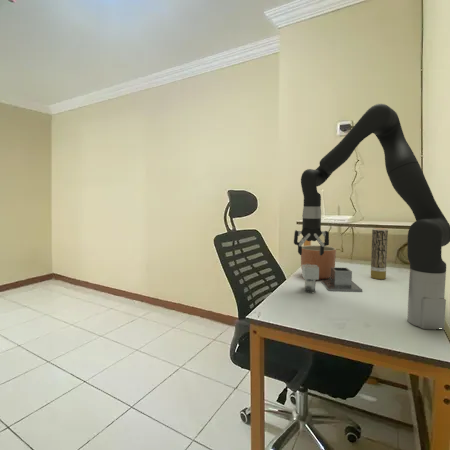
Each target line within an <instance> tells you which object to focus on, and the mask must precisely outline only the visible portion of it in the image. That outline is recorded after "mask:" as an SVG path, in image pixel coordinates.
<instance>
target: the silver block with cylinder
mask: <svg viewBox="0 0 450 450" xmlns="http://www.w3.org/2000/svg"><path fill="white" fill-rule="evenodd" d="M301 276H302V278H303V279H304V292H306V293H309V294H313V293H312V292H314V293H316V285H317V284H316V281H317V280H319V281H320V279H319V267H318V266H317V265H311V264H305V265H302V268H301Z"/></svg>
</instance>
